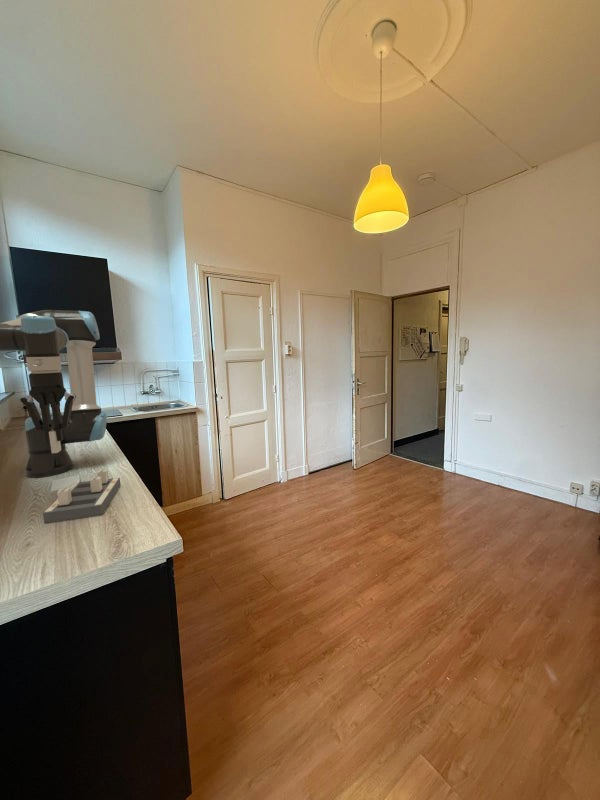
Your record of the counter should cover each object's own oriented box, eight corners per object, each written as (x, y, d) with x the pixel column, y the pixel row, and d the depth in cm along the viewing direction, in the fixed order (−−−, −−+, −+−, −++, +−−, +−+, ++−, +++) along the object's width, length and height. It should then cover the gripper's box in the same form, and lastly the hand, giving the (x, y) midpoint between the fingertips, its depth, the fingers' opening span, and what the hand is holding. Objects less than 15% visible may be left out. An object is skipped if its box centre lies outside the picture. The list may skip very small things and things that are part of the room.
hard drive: (52, 479, 115) (50, 491, 105) (79, 474, 120) (80, 485, 110) (53, 484, 116) (50, 495, 106) (80, 478, 120) (80, 489, 110)
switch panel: (74, 491, 107) (73, 482, 107) (120, 485, 112) (119, 477, 111) (44, 523, 87) (42, 512, 86) (102, 514, 91) (101, 504, 90)
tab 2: (93, 489, 100) (92, 476, 100) (102, 488, 101) (100, 475, 100) (91, 492, 98) (89, 479, 97) (100, 491, 99) (98, 478, 98)
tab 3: (100, 481, 107) (99, 468, 106) (108, 480, 108) (107, 468, 107) (98, 484, 105) (96, 471, 104) (106, 483, 105) (105, 470, 105)
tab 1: (62, 502, 92) (60, 487, 91) (71, 500, 93) (70, 486, 92) (58, 505, 90) (56, 490, 89) (68, 504, 90) (66, 489, 90)
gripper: (10, 373, 84) (23, 458, 88) (67, 372, 88) (78, 453, 92) (23, 371, 91) (35, 450, 95) (76, 370, 95) (86, 445, 99)
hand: (56, 451), depth 94 cm, fingers closed
